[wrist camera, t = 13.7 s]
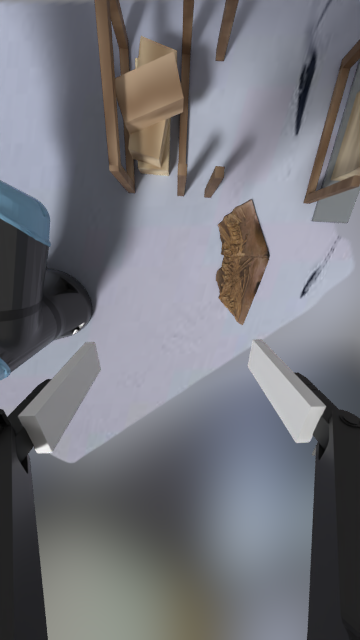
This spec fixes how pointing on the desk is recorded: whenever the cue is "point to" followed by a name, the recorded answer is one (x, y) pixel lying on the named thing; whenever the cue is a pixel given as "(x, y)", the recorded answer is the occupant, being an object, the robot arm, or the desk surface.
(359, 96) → the pale wooden block
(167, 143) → the offcut
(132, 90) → the offcut
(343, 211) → the felt mat
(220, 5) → the desk surface
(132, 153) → the offcut
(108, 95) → the rack
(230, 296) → the wooden fragment
